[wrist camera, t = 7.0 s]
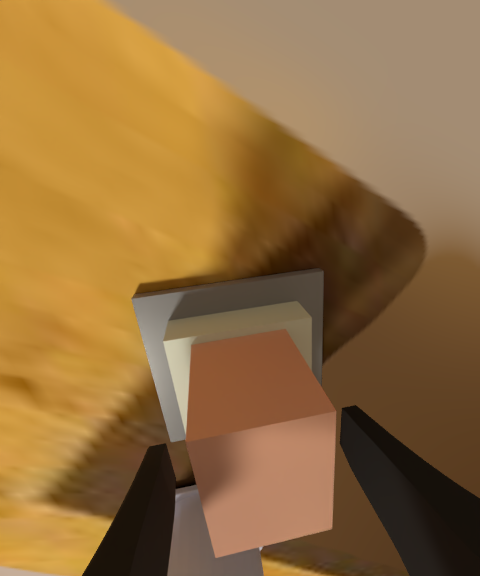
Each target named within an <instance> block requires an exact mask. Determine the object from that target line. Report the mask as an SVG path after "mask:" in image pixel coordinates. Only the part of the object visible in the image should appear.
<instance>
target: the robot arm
mask: <svg viewBox="0 0 480 576" xmlns="http://www.w3.org/2000/svg"><path fill="white" fill-rule="evenodd" d="M341 416H342V417H341V434H340V445H341V447H342V449H343V452H344V454H345V456H346V458H347V460H348V463H349V465H350V467H351V469H352V471H353V473H354V475H355V477H356V478H357V480H358V482H359V483H360V485H361V487H362V489H363V491H364V493H365V494H366V496H367V498H368V499H369V501H370V503H371V505H372V506H373V508H374V510H375V512H376V513H377V515H378V517H379V519H380V520H381V522H382V524H383V526H384V527H385V529H386V531H387V532H388V534H389V536H390V538H391V540H392V541H393V543H394V545H395V547H396V549H397V551H398V553H399V555H400V557H401V558H402V561H403V563H404V565H405V567H406V569H407V571H408V573H409V575H410V576H480V498H478V497H477V496H475V495H474V494H472V493H470V492H469V491H467V490H466V489H464V488H463V487H461V486H460V485H458V484H457V483H455V482H454V481H452V480H451V479H449V478H448V477H447V476H445V475H444V474H442V473H441V472H440V471H438V470H437V469H435V468H434V467H433V466H431V465H430V464H429V463H427V462H426V461H424V460H423V459H422V458H421V457H419V456H418V455H417V454H415V453H414V452H413V451H411V450H410V449H409V448H408V447H406V446H405V445H404V444H402V443H401V442H400V441H399V440H397V439H396V438H395V437H394V436H392V435H391V434H390V433H388V432H387V431H386V430H385V429H384V428H383V427H381V426H380V425H379V424H378V423H377V422H375V421H374V420H373V419H372V418H371V417H369V416H368V415H367V414H366V413H365V412H363V411H362V410H361V409H360V408H358V407H357V406H356V405H355V406H350V407H345V408H342V415H341ZM262 547H263V546H262ZM262 547H258V548H254V549H250V550H246V551H242V552H238V553H234V554H230V555H226V556H222V557H218V558H215V554H214V550H213V546H212V543H211V539H210V535H209V531H208V527H207V523H206V519H205V515H204V512H203V508H202V504H201V500H200V496H199V492H198V488H197V485H193V486H188V487H184V488H179V489H176V477H175V474H174V470H173V467H172V463H171V460H170V456H169V453H168V449H167V446H166V443H165V444H160V445H155V446H150V447H149V448H148V449H147V452H146V454H145V456H144V459H143V461H142V463H141V466H140V468H139V470H138V472H137V474H136V476H135V479H134V481H133V483H132V485H131V487H130V489H129V491H128V493H127V495H126V497H125V499H124V501H123V503H122V505H121V507H120V509H119V511H118V513H117V515H116V517H115V518H114V520H113V522H112V524H111V526H110V528H109V529H108V531H107V533H106V535H105V537H104V538H103V540H102V542H101V544H100V546H99V547H98V549H97V551H96V553H95V554H94V556H93V558H92V560H91V561H90V563H89V565H88V566H87V568H86V570H85V571H84V573H83V575H82V576H264V574H263V568H262V562H261V556H260V550H261V549H262Z"/></svg>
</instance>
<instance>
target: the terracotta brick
mask: <svg viewBox="0 0 480 576" xmlns="http://www.w3.org/2000/svg"><path fill="white" fill-rule="evenodd" d="M335 436H336V410H335V408H334V406H333V405H332V403H331V402H330V400H329V398H328V397H327V395H326V393H325V392H324V390H323V389H322V387H321V385H320V384H319V382H318V380H317V379H316V377H315V376H314V374H313V372H312V371H311V369H310V368H309V366H308V364H307V363H306V361H305V359H304V358H303V356H302V355H301V353H300V351H299V350H298V348H297V346H296V345H295V343H294V342H293V340H292V338H291V337H290V335H289V333H288V332H287V330H286V329H281V330H275V331H270V332H264V333H258V334H252V335H246V336H240V337H235V338H229V339H223V340H217V341H211V342H205V343H199V344H194V345H191V357H190V374H189V392H188V409H187V427H186V446H187V449H188V453H189V457H190V461H191V465H192V469H193V473H194V477H195V481H196V484H197V488H198V492H199V496H200V500H201V504H202V508H203V512H204V515H205V519H206V523H207V527H208V531H209V535H210V539H211V543H212V546H213V550H214V554H215V558H218V557H222V556H226V555H230V554H234V553H238V552H242V551H246V550H250V549H254V548H258V547H262V546H266V545H270V544H274V543H278V542H282V541H286V540H290V539H294V538H298V537H301V536H305V535H310V534H313V533H318V532H322V531H325V530H329V529H332V516H333V490H334V462H335Z"/></svg>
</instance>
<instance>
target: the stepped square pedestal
mask: <svg viewBox="0 0 480 576" xmlns="http://www.w3.org/2000/svg"><path fill="white" fill-rule="evenodd" d="M323 288H324V271H323V270H321V269H320V268H315V269H308V270H301V271H294V272H287V273H280V274H273V275H266V276H259V277H252V278H245V279H238V280H231V281H224V282H217V283H210V284H203V285H196V286H189V287H182V288H175V289H168V290H161V291H154V292H147V293H140V294H134V296H133V297H132V303H133V306H134V310H135V314H136V317H137V321H138V325H139V328H140V332H141V335H142V339H143V343H144V346H145V350H146V354H147V357H148V361H149V364H150V368H151V372H152V375H153V379H154V383H155V386H156V390H157V393H158V397H159V401H160V404H161V408H162V412H163V415H164V419H165V422H166V426H167V430H168V433H169V437H170V441H171V442H175V441H180V440H185V439H186V427H187V409H188V392H189V374H190V357H191V345H194V344H199V343H205V342H211V341H217V340H223V339H229V338H235V337H240V336H246V335H252V334H258V333H264V332H270V331H275V330H281V329H286V330H287V332H288V333H289V335H290V337H291V338H292V340H293V342H294V343H295V345H296V346H297V348H298V350H299V351H300V353H301V355H302V356H303V358H304V359H305V361H306V363H307V364H308V366H309V368H310V369H311V371H312V372H313V374H314V376H315V377H316V379H317V380H318V382H319V384H320V385H321V387H322V342H323Z"/></svg>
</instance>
